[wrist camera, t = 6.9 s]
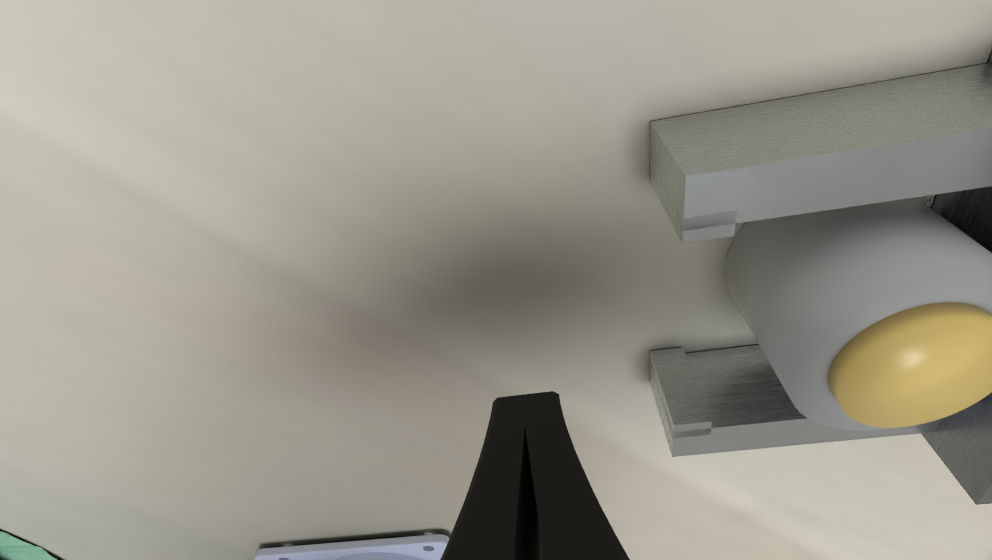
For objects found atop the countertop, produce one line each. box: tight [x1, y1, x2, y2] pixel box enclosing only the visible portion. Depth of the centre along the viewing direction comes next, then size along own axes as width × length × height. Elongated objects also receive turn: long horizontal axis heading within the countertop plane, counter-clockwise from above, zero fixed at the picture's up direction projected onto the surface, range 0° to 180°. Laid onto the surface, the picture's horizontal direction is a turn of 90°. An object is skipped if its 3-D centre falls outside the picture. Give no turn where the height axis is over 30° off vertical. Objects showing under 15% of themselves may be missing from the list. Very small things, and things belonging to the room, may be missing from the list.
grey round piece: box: [725, 197, 992, 431], centre depth 12 cm, size 5×5×4 cm
